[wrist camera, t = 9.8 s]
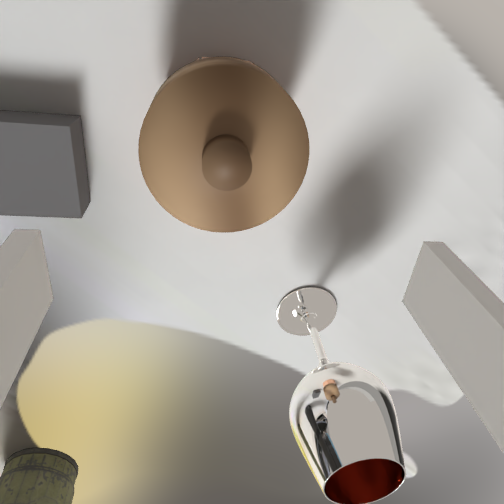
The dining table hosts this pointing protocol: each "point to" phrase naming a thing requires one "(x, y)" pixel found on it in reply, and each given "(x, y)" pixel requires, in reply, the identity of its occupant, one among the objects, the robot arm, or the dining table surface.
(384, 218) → the dining table surface
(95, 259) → the dining table surface
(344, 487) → the wineglass
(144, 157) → the lid
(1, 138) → the stand
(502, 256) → the dining table surface
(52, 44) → the dining table surface
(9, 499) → the thermos
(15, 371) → the robot arm
